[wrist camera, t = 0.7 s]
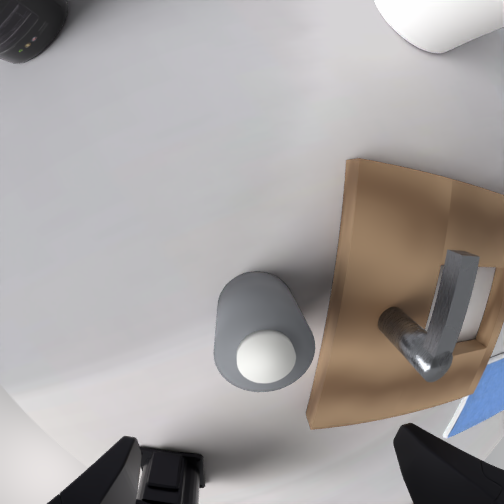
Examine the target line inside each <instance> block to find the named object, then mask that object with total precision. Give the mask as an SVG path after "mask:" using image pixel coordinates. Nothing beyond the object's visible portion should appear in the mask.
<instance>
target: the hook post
mask: <svg viewBox="0 0 504 504" xmlns="http://www.w3.org/2000/svg"><path fill="white" fill-rule="evenodd" d="M479 259H480V257H479V256H477V255H474V254H472V253H469V252H466V251H460V250H449V249H447V254H446V259H445V264H444V269H443V274H442V278H441V283H440V287H439V291H438V295H437V299H436V303H435V307H434V310H433V314H432V317H431V321H430V324H429V327H428V331H426V330H425V329H423V328H422V327H421V326H420V325H419V324H417V323H416V322H415V321H414V320H413V319H411V318H410V317H409V316H408V315H407V314H405V313H404V312H403V311H402V310H401V309H399V308H398V307H390V308H388V309H386V310H385V311H384V312H383V313H382V314H381V316H380V317H379V320H378V328H379V330H380V331H381V332H382V333H383V334H384V335H385V336H386V338H387V339H388V340H389V341H390V342H391V343H392V344H393V345H394V346H395V347H396V348H397V349H398V351H399V352H400V353H401V354H402V355H403V356H404V357H405V358H406V359H407V360H408V362H409V363H410V364H411V365H412V366H413V367H414V368H415V369H416V370H417V372H418V373H419V374H420V375H421V376H422V377H423V378H424V379H425V381H427V382H434V381H437V380H438V379H440V378H441V377H442V376H444V374H445V373H446V372H447V371H448V369H449V368H450V366H451V364H452V360H453V355H452V353H453V350H454V348H455V345H456V342H457V339H458V336H459V334H460V331H461V328H462V325H463V321H464V318H465V315H466V312H467V308H468V305H469V301H470V298H471V294H472V290H473V286H474V282H475V278H476V274H477V269H478V264H479Z"/></svg>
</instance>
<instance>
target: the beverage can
mask: <svg viewBox="0 0 504 504" xmlns="http://www.w3.org/2000/svg"><path fill="white" fill-rule="evenodd" d="M374 2H375V4H376V6H377V8H378V10H379V12H380V13H381V15H382V16H383V18H384V19H385V20H386V22H387V23H388V24H389V25H390V26H391V27H392V28H393V29H394V30H395V31H396V32H397V33H398V34H399V35H400V36H402V37H403V38H404V39H405V40H407V41H408V42H410V43H411V44H413V45H414V46H416V47H418V48H420V49H422V50H425V51H428V52H431V53H444V52H447V51H449V50H451V49H453V48H456V47H458V46H460V45H462V44H464V43H467V42H469V41H471V40H473V39H476V38H478V37H480V36H483V35H485V34H488V33H490V32H492V31H495V30H497V29H500V28H503V27H504V0H374Z"/></svg>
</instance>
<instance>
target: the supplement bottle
mask: <svg viewBox="0 0 504 504" xmlns="http://www.w3.org/2000/svg"><path fill="white" fill-rule="evenodd" d="M67 10H68V5H67V1H66V0H0V59H2V60H5V61H7V62H10V63H22V62H25V61H28V60H30V59H32V58H33V57H35V56H36V55H38V54H39V53H40V52H42V51H43V50H44V49H45V48H46V47H47V46H48V45H49V44H50V43H51V42H52V41H53V39H54V38H55V37H56V35H57V34H58V32H59V31H60V29H61V28H62V26H63V24H64V21H65V19H66V15H67Z"/></svg>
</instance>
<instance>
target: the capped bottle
mask: <svg viewBox="0 0 504 504" xmlns="http://www.w3.org/2000/svg"><path fill="white" fill-rule="evenodd" d="M314 353H315V341H314V336H313V334H312V331H311V329H310V328H309V326H308V324H307V322H306V320H305V318H304V316H303V314H302V312H301V311H300V309H299V307H298V305H297V303H296V301H295V299H294V297H293V296H292V294H291V292H290V290H289V288H288V287H287V285H286V284H285V283H284V282H283V281H282V280H281V279H279V278H278V277H276V276H274V275H272V274H269V273H265V272H248V273H244V274H242V275H239V276H237V277H235V278H234V279H232V280H231V281H230V282H229V283H228V284H227V285H226V286H225V287H224V289H223V290H222V292H221V294H220V296H219V300H218V307H217V318H216V330H215V342H214V360H215V364H216V366H217V369H218V370H219V372H220V374H221V375H222V376H223V377H224V378H225V379H226V380H227V381H228V382H230V383H231V384H233V385H234V386H236V387H238V388H241V389H244V390H248V391H253V392H268V391H274V390H278V389H281V388H284V387H286V386H288V385H290V384H292V383H293V382H295V381H296V380H298V379H299V378H300V377H301V376H302V375H303V374H304V373H305V372H306V370H307V369H308V368H309V366H310V364H311V362H312V360H313V357H314Z"/></svg>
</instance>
